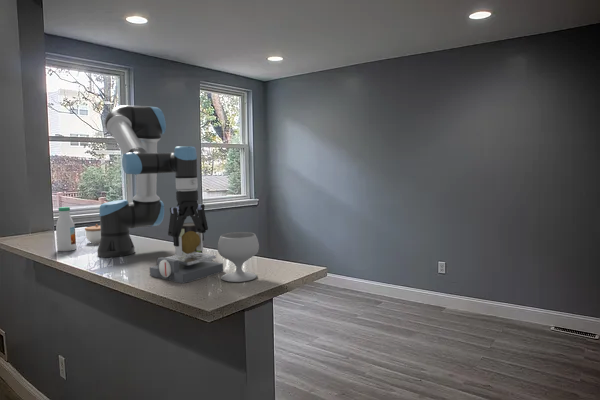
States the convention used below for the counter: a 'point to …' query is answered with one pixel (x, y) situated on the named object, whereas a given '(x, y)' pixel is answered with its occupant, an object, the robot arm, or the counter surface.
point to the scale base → (184, 270)
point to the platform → (192, 258)
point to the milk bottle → (65, 231)
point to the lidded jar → (93, 234)
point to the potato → (190, 242)
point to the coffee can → (187, 228)
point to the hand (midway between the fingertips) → (189, 252)
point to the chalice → (238, 253)
